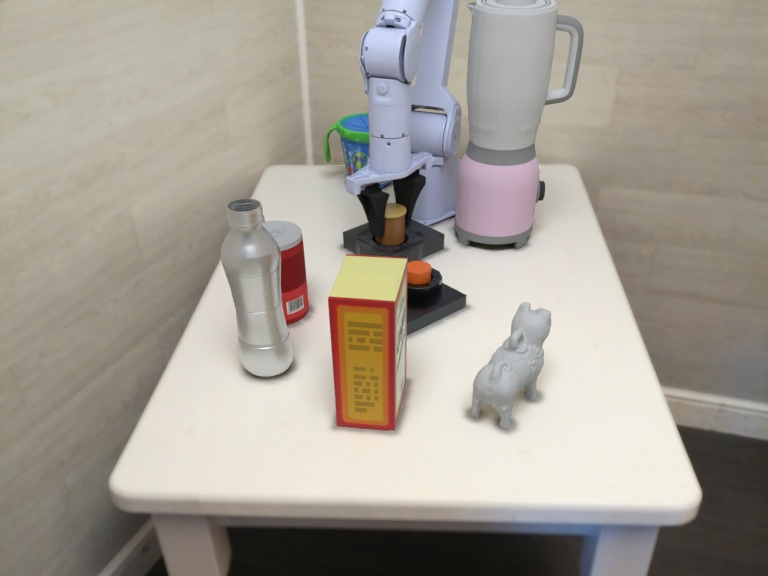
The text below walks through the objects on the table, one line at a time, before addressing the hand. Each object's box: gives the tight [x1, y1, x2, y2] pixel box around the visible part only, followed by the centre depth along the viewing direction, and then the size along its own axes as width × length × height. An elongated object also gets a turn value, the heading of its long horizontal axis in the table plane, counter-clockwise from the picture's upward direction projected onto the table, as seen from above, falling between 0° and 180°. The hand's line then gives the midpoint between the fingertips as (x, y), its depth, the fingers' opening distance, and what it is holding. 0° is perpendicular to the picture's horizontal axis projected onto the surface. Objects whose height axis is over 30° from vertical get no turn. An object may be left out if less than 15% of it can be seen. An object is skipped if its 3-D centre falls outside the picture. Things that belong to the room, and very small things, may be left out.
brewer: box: [407, 266, 467, 337], centre depth 98 cm, size 11×10×4 cm
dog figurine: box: [470, 301, 552, 430], centre depth 80 cm, size 5×13×11 cm, turn 148°
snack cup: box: [323, 112, 391, 188], centre depth 126 cm, size 16×10×10 cm
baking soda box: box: [327, 253, 408, 432], centre depth 78 cm, size 10×6×16 cm
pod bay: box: [342, 219, 445, 263], centre depth 110 cm, size 12×12×2 cm
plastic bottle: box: [219, 197, 295, 378], centre depth 82 cm, size 6×7×20 cm
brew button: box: [407, 260, 432, 284], centre depth 97 cm, size 4×4×2 cm
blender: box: [453, 0, 585, 249], centre depth 103 cm, size 16×12×32 cm
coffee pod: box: [376, 202, 406, 246], centre depth 107 cm, size 5×5×4 cm
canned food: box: [263, 220, 310, 326], centre depth 94 cm, size 8×8×11 cm
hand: (390, 230), depth 108 cm, fingers closed on coffee pod, 4 cm apart
